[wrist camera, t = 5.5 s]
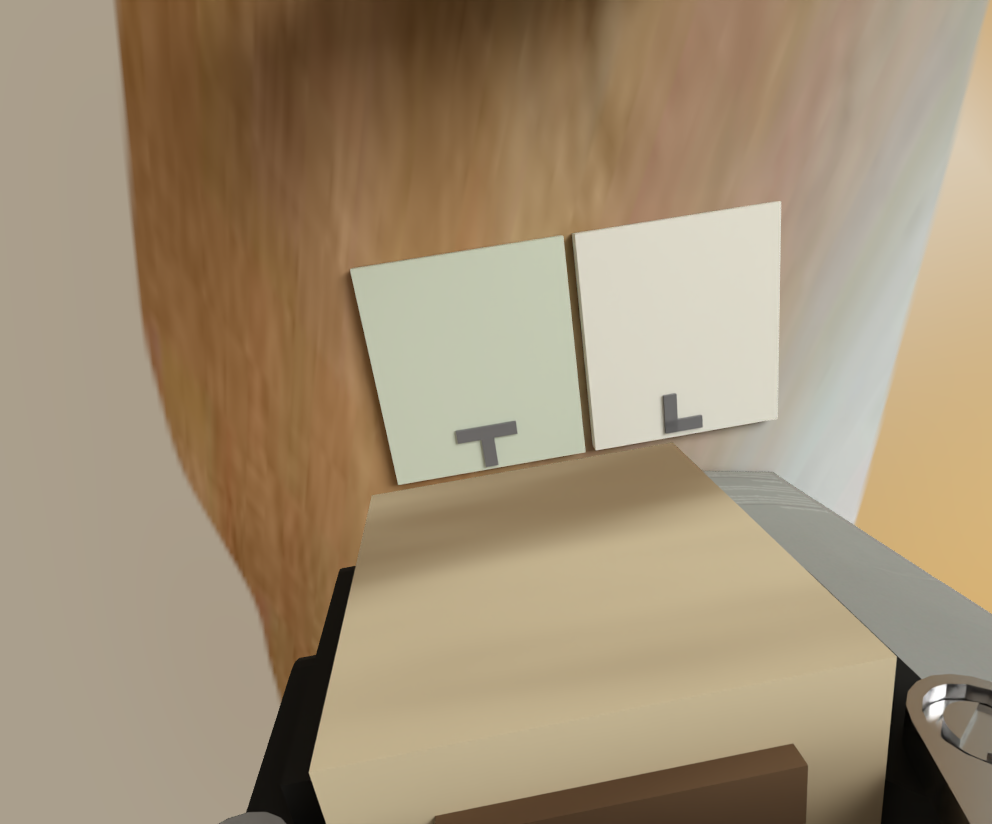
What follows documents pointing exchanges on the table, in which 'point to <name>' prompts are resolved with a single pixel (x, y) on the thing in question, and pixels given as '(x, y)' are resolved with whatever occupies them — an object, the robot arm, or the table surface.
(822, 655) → the letter cube
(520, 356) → the pad
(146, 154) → the table surface
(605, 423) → the pad
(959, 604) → the skincare box
